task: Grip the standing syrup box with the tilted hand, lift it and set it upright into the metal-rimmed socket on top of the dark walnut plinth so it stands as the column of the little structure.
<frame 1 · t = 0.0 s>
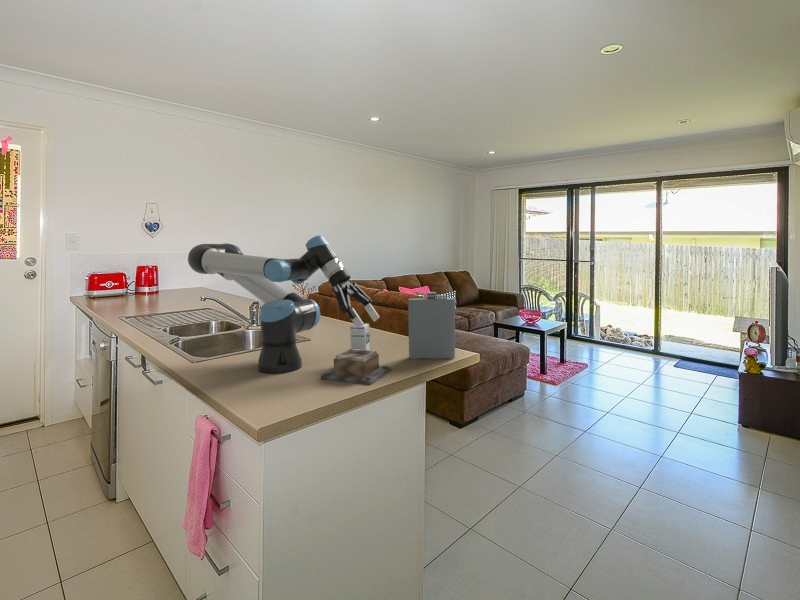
hand: (368, 322, 151), 15 cm above the table, tool tilted 35°, fingers open, 13 cm apart
syrup box: (361, 363, 155), on the table
tall gray carton: (431, 357, 162), on the table
assembly base: (357, 374, 141), on the table
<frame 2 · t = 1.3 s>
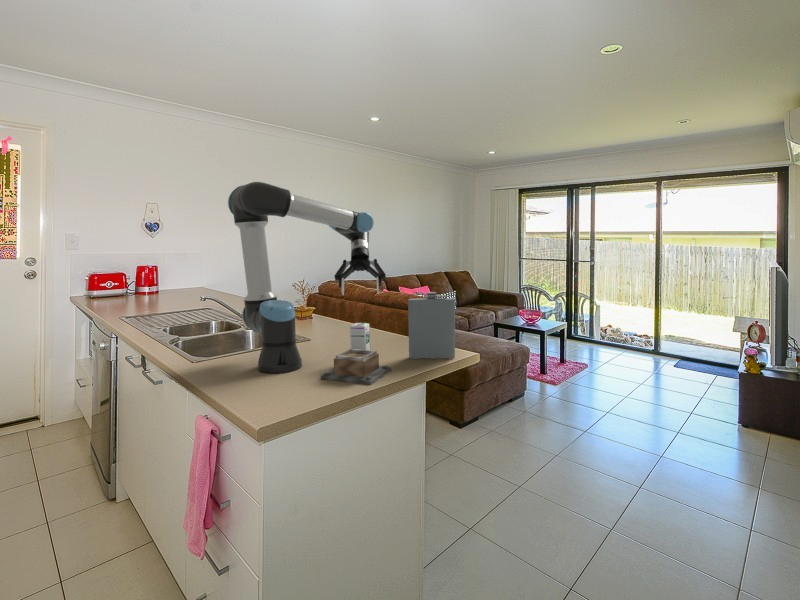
hand: (360, 292, 165), 25 cm above the table, tool tilted 45°, fingers open, 13 cm apart
nothing on the table moved.
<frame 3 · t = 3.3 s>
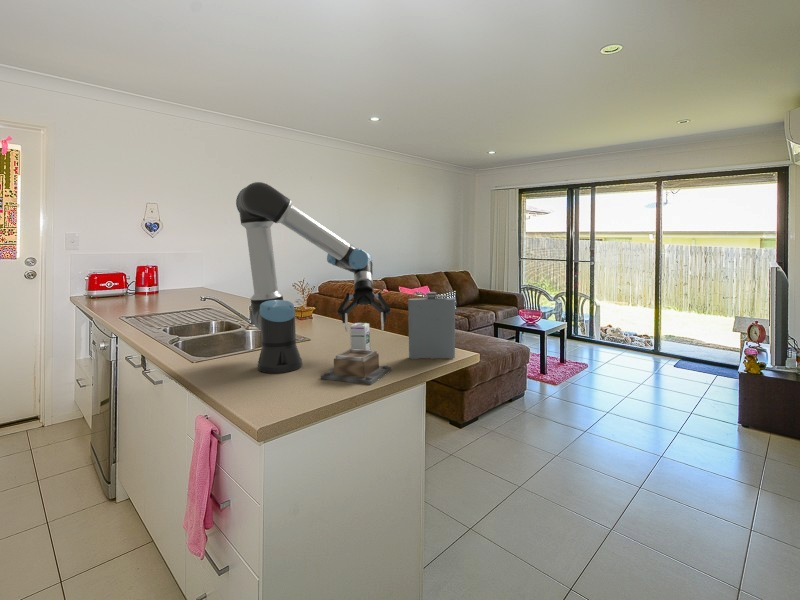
hand: (364, 329, 159), 12 cm above the table, tool tilted 45°, fingers open, 13 cm apart
nothing on the table moved.
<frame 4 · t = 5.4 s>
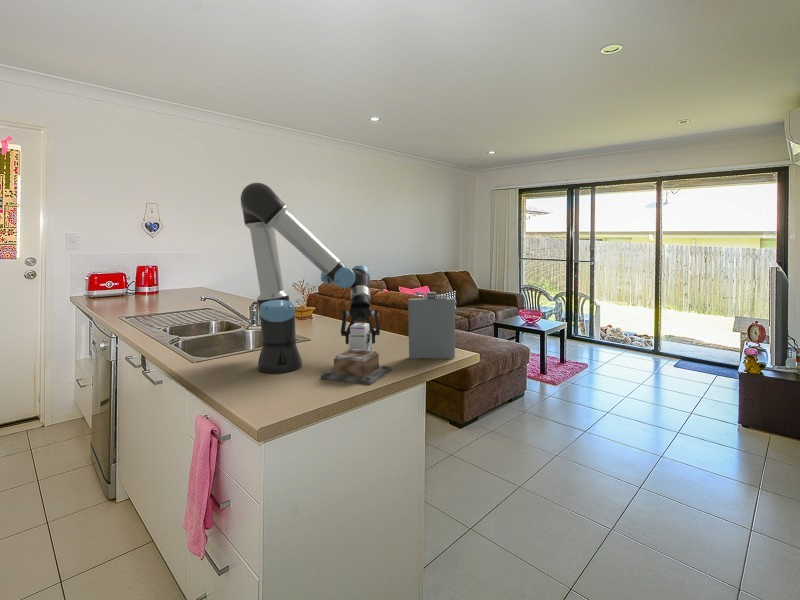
hand: (360, 350, 151), 5 cm above the table, tool tilted 45°, fingers closed on syrup box, 7 cm apart
syrup box: (361, 363, 155), on the table, touching gripper
everything else where it was.
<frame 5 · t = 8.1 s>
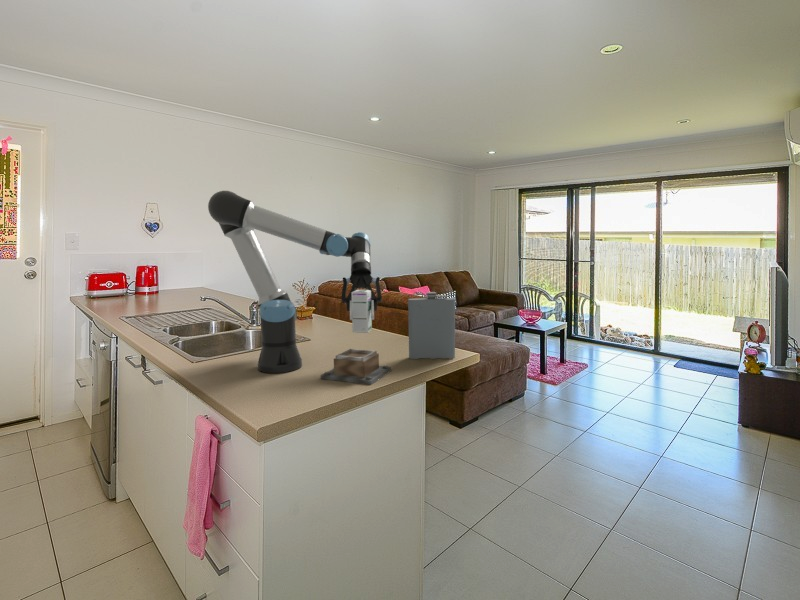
hand: (362, 317, 146), 18 cm above the table, tool tilted 45°, fingers closed on syrup box, 7 cm apart
syrup box: (362, 331, 151), point 12 cm above the table, touching gripper
everything else where it was.
when the fingers open (13 cm above the table, at t = 10.8 s): syrup box drops 1 cm, resting on assembly base.
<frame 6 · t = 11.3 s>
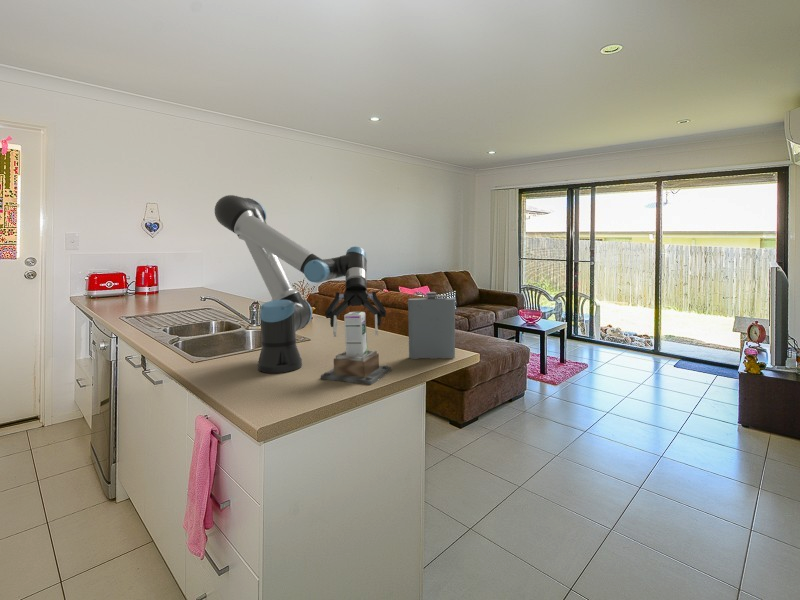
hand: (355, 333, 137), 14 cm above the table, tool tilted 45°, fingers open, 13 cm apart
syrup box: (356, 356, 141), point 6 cm above the table, touching assembly base
everything else where it was.
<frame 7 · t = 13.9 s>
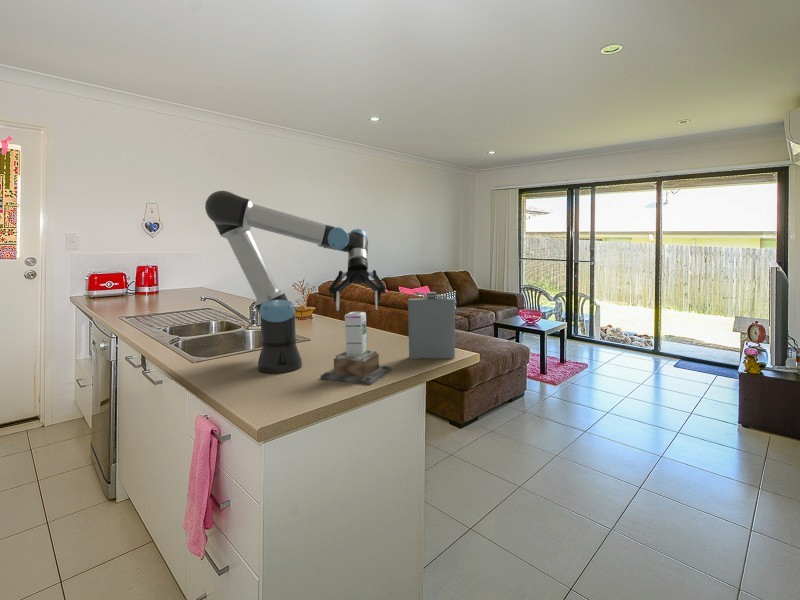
hand: (357, 308, 148), 21 cm above the table, tool tilted 45°, fingers open, 13 cm apart
nothing on the table moved.
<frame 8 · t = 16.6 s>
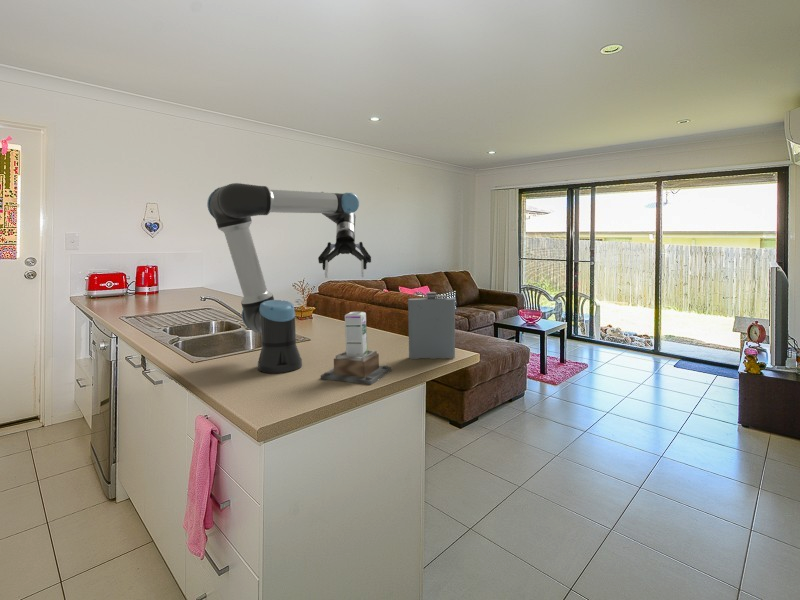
hand: (344, 275, 160), 32 cm above the table, tool tilted 45°, fingers open, 13 cm apart
nothing on the table moved.
at the end: syrup box 0.2 cm off-centre on the assembly base, point 6.0 cm above the assembly base's base; syrup box tilted 0°; the gripper is holding nothing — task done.
